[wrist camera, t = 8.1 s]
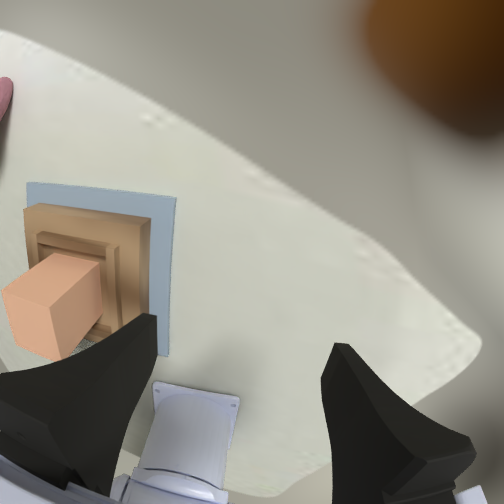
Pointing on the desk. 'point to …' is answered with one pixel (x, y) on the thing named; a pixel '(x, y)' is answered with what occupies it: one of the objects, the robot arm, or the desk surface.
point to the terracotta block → (54, 305)
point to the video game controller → (5, 94)
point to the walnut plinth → (97, 255)
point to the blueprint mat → (130, 204)
